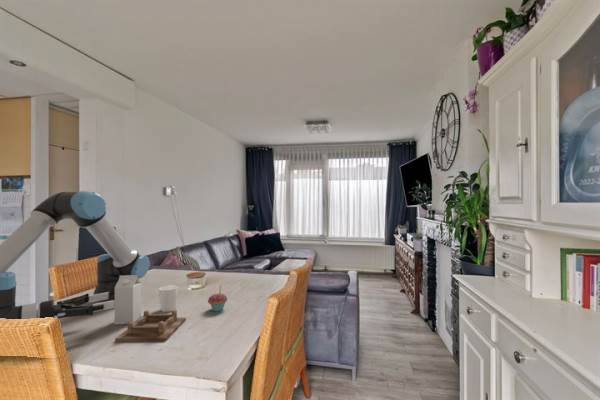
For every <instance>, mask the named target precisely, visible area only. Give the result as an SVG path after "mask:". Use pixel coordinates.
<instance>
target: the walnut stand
mask: <svg viewBox="0 0 600 400" xmlns="http://www.w3.org/2000/svg"><path fill="white" fill-rule="evenodd" d="M186 318H187V317H185V316H184V317H178V310H176V309H175V310H173V311H171V313H166V314H164V313H163V314H162V313H161V314H160V313H158V314H155V313H154V314H153V313H152V314H150V310H144V311H143V316H141V317H140V318H139V319H138V320H137V321H135V322H128V323H127V324H126V325H127V326H126V329H125V330H124V331H123V332H121V333H120V334H119V335H117V336H116V337H115V338H114V340H115V341H114V342H115V343H116V342H119V343H120V342H124V343H125V342H126V343H127V342H167V341H168V340H170V338H171V336H173V335H174V333H176V331H178V329H180V327H182V325H183V324H184V323H185V322H186V320H187V319H186Z"/></svg>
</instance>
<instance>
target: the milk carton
mask: <svg viewBox="0 0 600 400" xmlns="http://www.w3.org/2000/svg"><path fill="white" fill-rule="evenodd" d="M140 318H142V281H141V280H140V278H139V279H138V278H137V275H127V276H119V280H118V282H117V284H116V286H115V300H114V325H115V326H116V325H127V323H128V322H134V323H135V322H136V321H138V320H139V319H140Z"/></svg>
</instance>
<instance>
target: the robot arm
mask: <svg viewBox="0 0 600 400" xmlns="http://www.w3.org/2000/svg"><path fill="white" fill-rule="evenodd" d="M106 206H107V203H106V199H104V197H103V196H102V195H100V194H99V193H97V192H93V191H87V190H83V191H60V192H57V193H54V194H52V195H50V196H48V197H47V198H45V199H44V200H43V201H42V202H40V204H37V206H36V207H35V208H33V209H32V210H31V211H30V216H29V217H28V218H27V219H26V220H25V221H23V223H22V224H21V225H19V227H17V228H16V229H15V230H14V231H13V232H12V233H11V234H10V235H9V236H8V237H7V238H5V240H4V241H2V242H1V243H0V318H6V319H30V318H45V317H53V318H54V319H55V317H56V316H57V319H64V318H73V317H82V316H93V315H94V313H96V312H101V311H105V310H109V309H115V286H116V284H117V282H118V280H119V276H127V275H137V278H138V279H139V280H140V279H142V278H143V277H145V276H146V275H147V273H148V271H149V269H150V264H151V263H150V258H149V257H148V256H146V255H141V254H140V253H139V252H138V251H137V250H136V249H135V248H130V246H129V244H127V243H126V242H127V241H125V240H124V239H123V237H122V236H121V234H119V232H118V230H117V229H116V228H115V227H114V225H113V224H112V223H111V222H110V220H109V219H108V218H107V217H106V215H107V211H106V210H107V207H106ZM65 219H67V220H69V219H70V220H72V221H73V222H74V223H75V225H77V226H78V227H79V228H83V229H86V230H87V231H88V233H90V234H91V236H92V237H93V238H94V239H95V240H96V241H97V243H98V244H99V245H100V246H101V247H102V249H104V251H105V252H106V253H104V254H100V255H98V257H97V259H96V260H97V263H96V270H97V271H96V281H97V282H96V286H95V289H94V291H93V294H89V293H85V294H83V295H79V296H75V297H72V298H68V299H65V300H59V301H57V302H56V304H55V301H54V300H52V299H51V300H46V301H41V302H40V303H38V302H33V303H28V304H22V305H16V294H17V291H16V290H17V279H16V278H17V277H16V273H15V272H13V271H8V270H9V269H10V268H11V267H12V266H13V265H14V264H15V263H16V262H18V260H19V259H20V258H21V257H22V256H23V255H24V254H25V253H26V252H27V251H28V250H29V249H30V248H31V247H32V246H33V244H35V243H36V242H37V241H38V240H39V239H40V237H42V235H44V233H46V232H47V231H48V230H49V228H50V227H55V226H56V225H57V224H59V222H61V221H63V220H65ZM96 302H97V303H96ZM87 303H90V304H91V303H93V304H91V305H84V304H87Z"/></svg>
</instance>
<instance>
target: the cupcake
mask: <svg viewBox="0 0 600 400" xmlns="http://www.w3.org/2000/svg"><path fill="white" fill-rule="evenodd" d="M227 300H228V297H227V296H226V295H225V294H224V293H222V284H220V286H219V292H218V293H213V294H211V295H210V296H209V297H208V299H207V303H208V304H209V305H210V307H211V309H212V312H213V311H214V312H220V311H223V310H224V308H225V305H226V303H227Z"/></svg>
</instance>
